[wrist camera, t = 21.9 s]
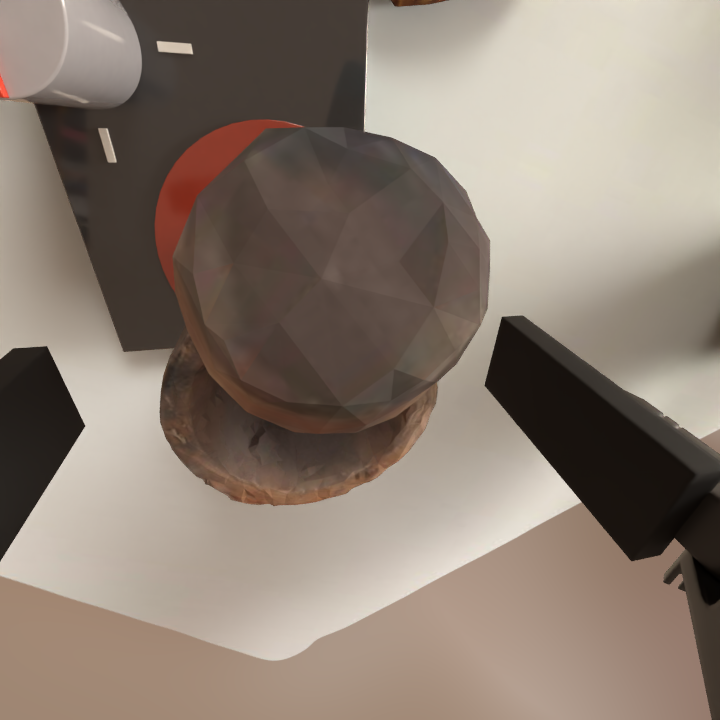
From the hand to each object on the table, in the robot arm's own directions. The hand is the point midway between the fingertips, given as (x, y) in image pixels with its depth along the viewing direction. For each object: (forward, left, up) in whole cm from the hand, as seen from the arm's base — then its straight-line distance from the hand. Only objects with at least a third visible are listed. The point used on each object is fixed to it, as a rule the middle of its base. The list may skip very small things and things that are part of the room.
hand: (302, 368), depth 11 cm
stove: (+4, -4, -15) cm, 16 cm away
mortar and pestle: (0, 0, -13) cm, 13 cm away
